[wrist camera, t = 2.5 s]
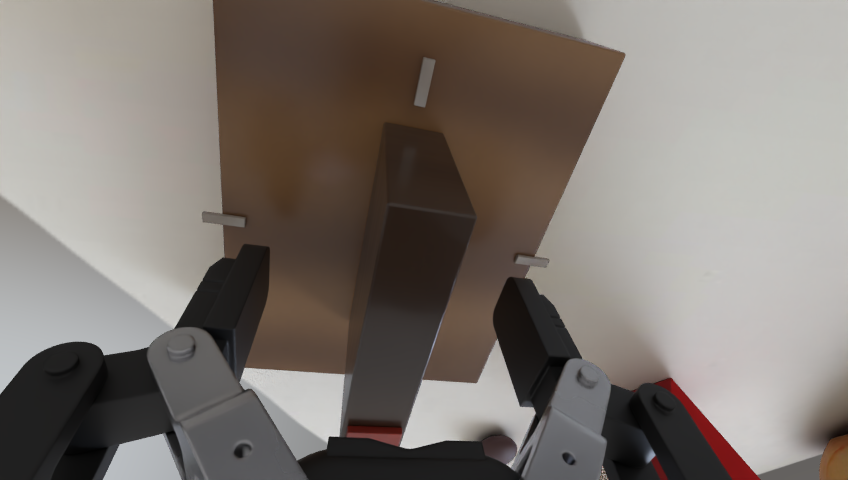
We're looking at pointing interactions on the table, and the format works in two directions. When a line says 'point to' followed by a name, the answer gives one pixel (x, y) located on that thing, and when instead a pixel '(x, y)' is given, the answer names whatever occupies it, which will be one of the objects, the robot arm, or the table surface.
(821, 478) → the onion
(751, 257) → the table surface
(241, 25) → the base
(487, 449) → the chocolate truffle
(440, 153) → the dark brown flat block
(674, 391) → the french fries
